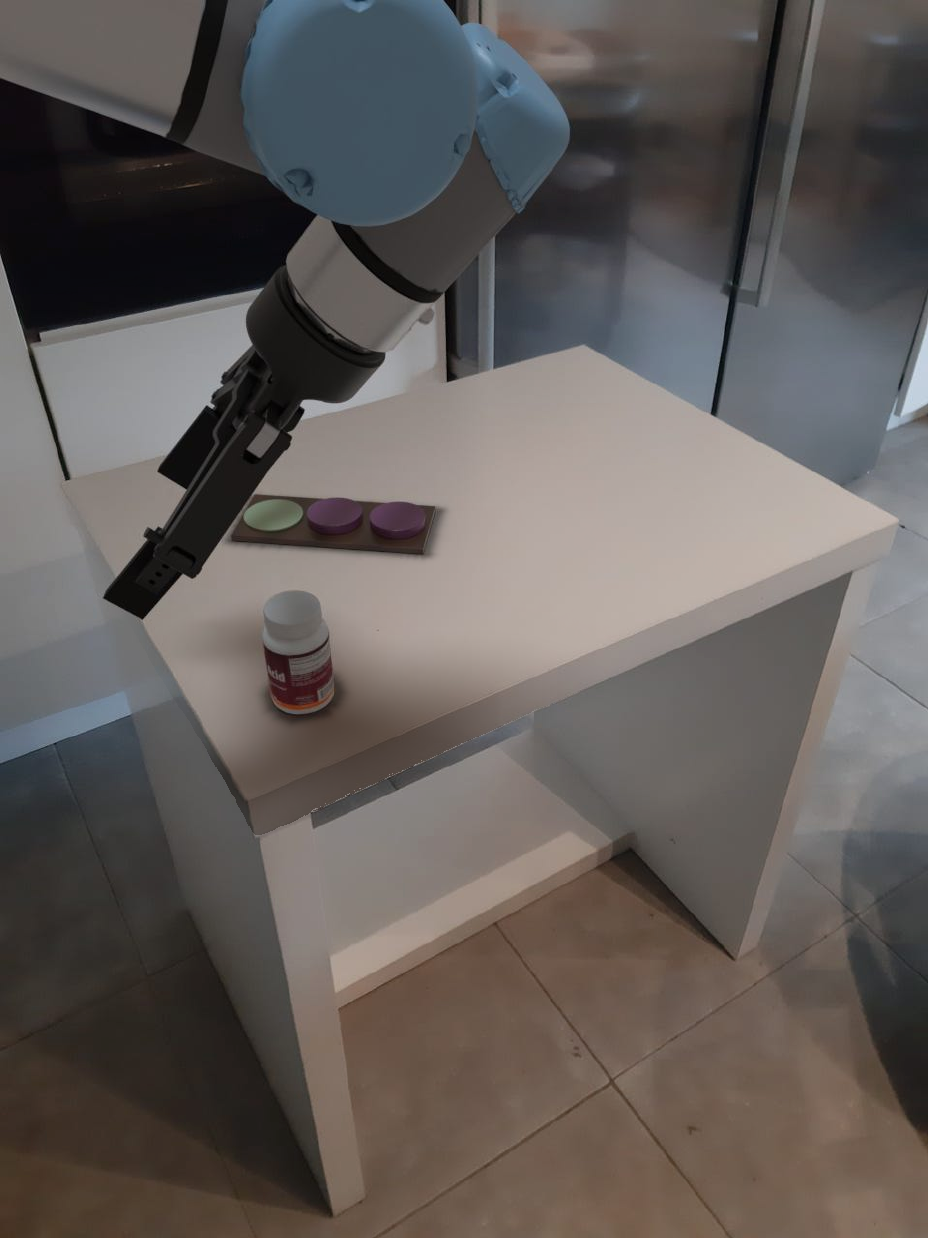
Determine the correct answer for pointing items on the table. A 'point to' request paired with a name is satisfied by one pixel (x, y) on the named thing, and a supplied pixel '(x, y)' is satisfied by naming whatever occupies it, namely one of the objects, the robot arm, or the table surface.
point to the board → (336, 523)
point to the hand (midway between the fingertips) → (151, 537)
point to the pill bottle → (297, 652)
